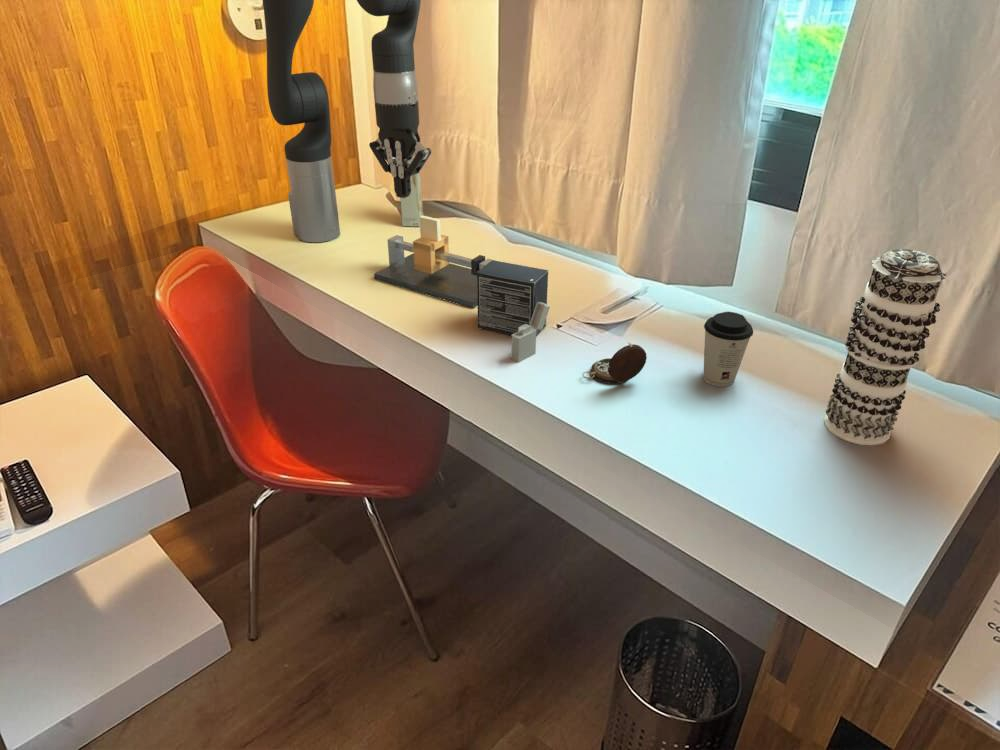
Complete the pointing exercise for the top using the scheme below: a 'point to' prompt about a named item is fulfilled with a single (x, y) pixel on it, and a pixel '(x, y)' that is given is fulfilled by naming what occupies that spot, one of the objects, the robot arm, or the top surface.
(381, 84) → the robot arm
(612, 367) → the compass
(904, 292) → the decorative candle
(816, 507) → the top surface
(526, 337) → the lighter
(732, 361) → the coffee cup
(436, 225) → the orange slider carriage
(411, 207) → the skincare box
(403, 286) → the linear slide rail
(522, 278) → the small box
